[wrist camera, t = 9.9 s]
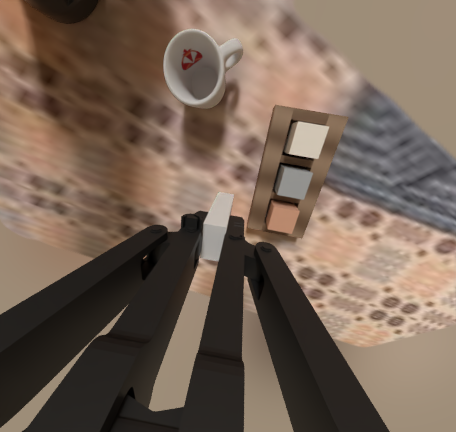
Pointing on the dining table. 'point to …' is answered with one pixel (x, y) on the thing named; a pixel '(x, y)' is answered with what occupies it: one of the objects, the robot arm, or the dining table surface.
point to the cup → (199, 67)
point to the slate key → (292, 182)
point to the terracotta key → (281, 216)
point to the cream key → (306, 139)
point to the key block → (274, 156)
